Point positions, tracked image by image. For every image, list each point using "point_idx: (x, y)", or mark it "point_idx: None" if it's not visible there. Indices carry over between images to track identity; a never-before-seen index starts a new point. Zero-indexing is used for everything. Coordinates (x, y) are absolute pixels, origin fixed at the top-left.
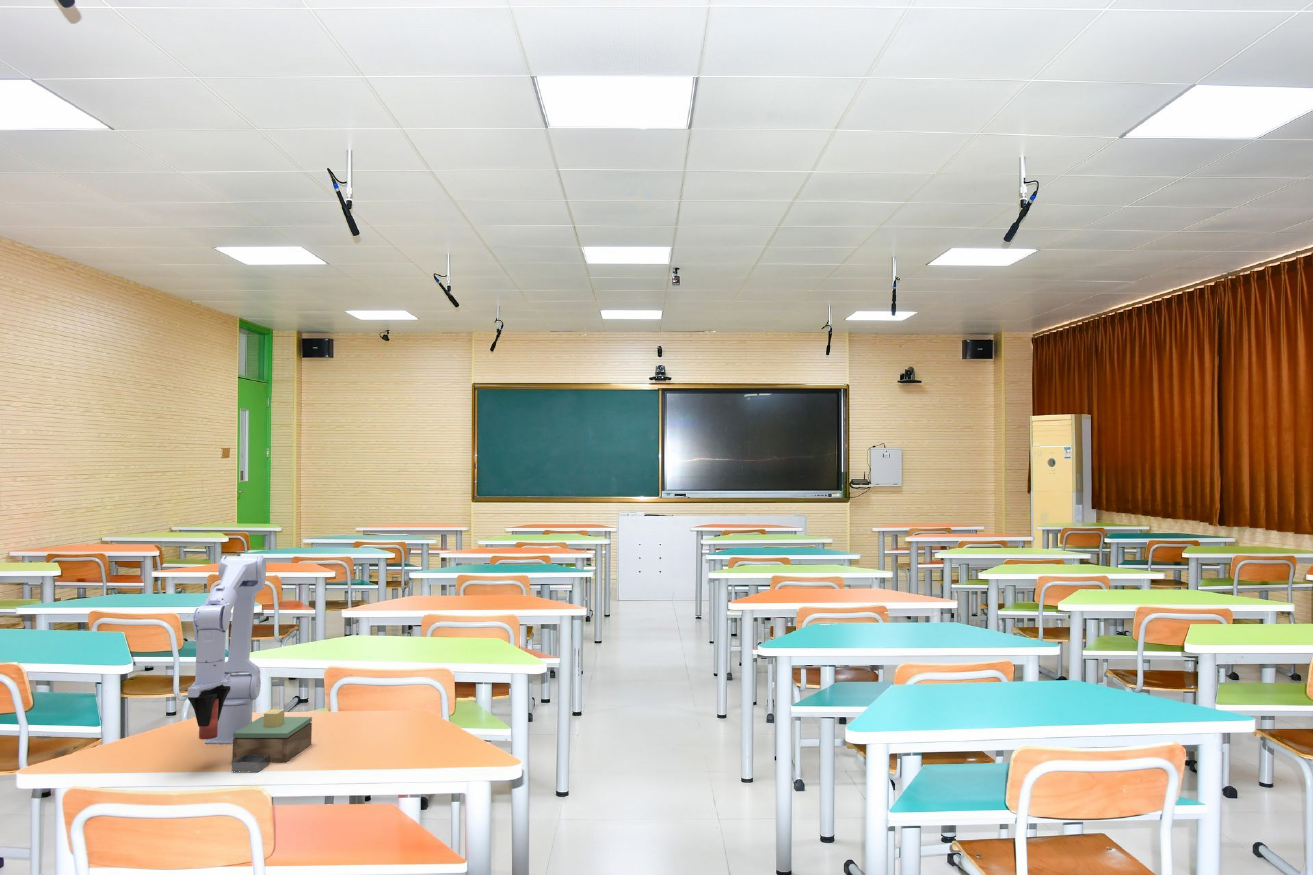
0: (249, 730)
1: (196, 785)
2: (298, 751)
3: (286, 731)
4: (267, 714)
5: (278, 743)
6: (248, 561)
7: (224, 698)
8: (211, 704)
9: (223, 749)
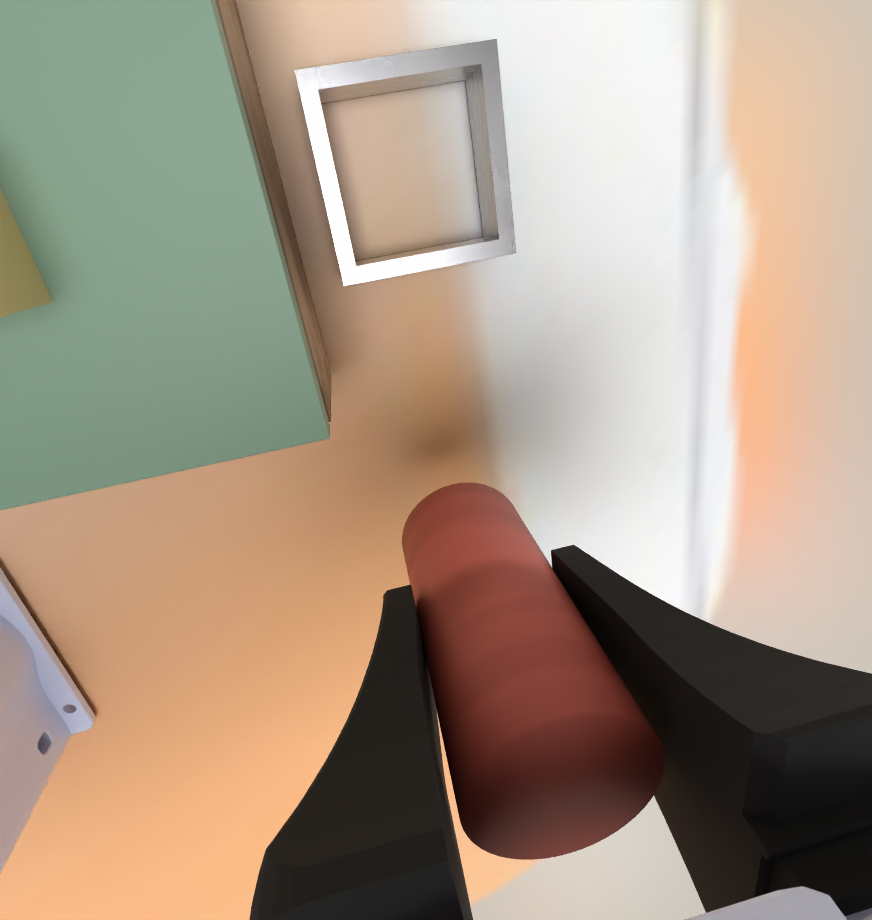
0: (210, 359)
1: (695, 303)
2: None
3: None
4: None
5: None
6: None
7: (373, 739)
8: (721, 649)
9: (129, 583)
